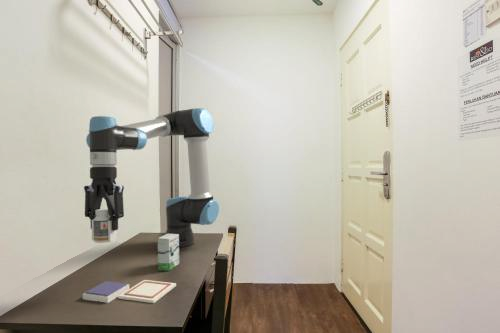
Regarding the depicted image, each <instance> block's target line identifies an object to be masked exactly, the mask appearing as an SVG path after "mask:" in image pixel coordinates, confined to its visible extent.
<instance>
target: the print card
mask: <svg viewBox="0 0 500 333" xmlns="http://www.w3.org/2000/svg"><path fill="white" fill-rule="evenodd" d="M175 287H177V283H176V282H175V283H174V282H165V281H157V280H149V279H143V280H142V281H140V282H138V283H137V284H135V285H133V286H132V287H131V288H130V287H129V290H127V291H125V292H124V293H122V294H120V295H119V296H118V297H117V298H118V299H120V300H127V301H134V302H142V303H149V304H155V303H157V301H158V300H160V299H161V298H162V297H163V296H165V295H166V294H168V292H170V291H172V290H173V289H174V288H175Z"/></svg>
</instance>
